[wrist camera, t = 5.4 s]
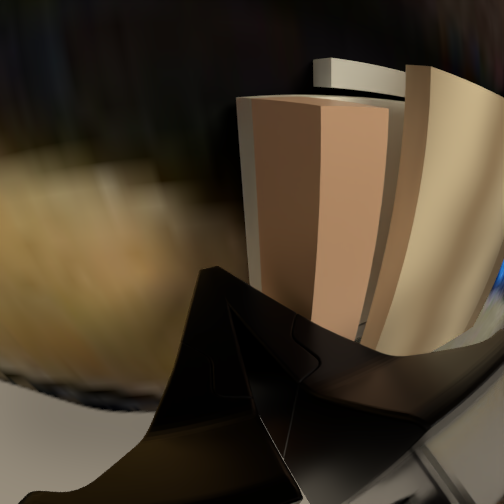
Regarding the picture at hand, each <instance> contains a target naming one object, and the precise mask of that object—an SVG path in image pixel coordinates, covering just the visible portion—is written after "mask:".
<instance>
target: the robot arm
mask: <svg viewBox="0 0 504 504" xmlns="http://www.w3.org/2000/svg"><path fill="white" fill-rule="evenodd" d="M260 417H261V419H262V421H263V423H264V425H265V426H266V428H267V430H268V432H269V434H270V436H271V437H270V436H269V434H268V432H267V430H266V428H265V426H264V425H263V423H262V421H261V419H260ZM271 438H272V439H271ZM272 440H273V441H274V443H275V445H276V447H277V448H276V447H275V445H274V443H273V441H272ZM277 449H278V450H279V452H280V454H281V455H280V454H279V452H278V450H277ZM281 456H282V457H283V458H284V461H285V462H284V461H283V459H282V457H281ZM285 463H286V464H287V466H288V468H289V469H290V471H291V473H292V475H293V476H294V478H295V480H296V481H297V483H298V485H299V486H300V488H301V490H302V491H303V493H304V495H305V496H306V498H307V500H308V501H309V503H310V504H504V329H501V330H499V331H498V332H497V333H495V334H494V335H493V336H492V337H491V338H489V339H487V340H485V341H483V342H480V343H477V344H474V345H470V346H466V347H460V348H455V349H449V350H443V351H437V352H431V353H424V354H417V355H409V356H393V355H388V354H384V353H381V352H378V351H376V350H373V349H371V348H369V347H366V346H364V345H362V344H359V343H357V342H354V341H352V340H350V339H347V338H345V337H343V336H341V335H338V334H336V333H334V332H332V331H330V330H328V329H325V328H323V327H321V326H319V325H318V324H316V323H314V322H312V321H310V320H308V319H307V318H305V317H303V316H301V315H300V314H296V312H294V311H293V310H291V309H289V308H287V307H286V306H284V305H282V304H281V303H279V302H277V301H276V300H274V299H272V298H270V297H269V296H267V295H265V294H264V293H262V292H260V291H259V290H257V289H255V288H254V287H252V286H250V285H249V284H247V283H245V282H244V281H242V280H240V279H239V278H237V277H235V276H234V275H232V274H230V273H229V272H227V271H226V270H224V269H222V268H221V267H219V266H215V267H210V268H205V269H201V270H200V271H199V275H198V278H197V282H196V286H195V289H194V293H193V297H192V300H191V304H190V308H189V312H188V316H187V319H186V323H185V327H184V331H183V335H182V339H181V343H180V346H179V351H178V354H177V358H176V361H175V365H174V368H173V371H172V374H171V376H170V379H169V381H168V384H167V387H166V389H165V391H164V394H163V396H162V399H161V401H160V403H159V406H158V408H157V411H156V413H155V415H154V418H153V421H152V423H151V425H150V427H149V429H148V431H147V433H146V435H145V436H144V438H143V439H142V440H141V441H140V443H139V444H138V445H136V447H134V448H133V449H132V450H131V451H130V452H128V453H127V454H126V455H125V456H124V457H122V458H121V459H120V460H119V461H118V462H117V463H115V464H114V465H113V466H112V467H111V468H110V469H108V470H107V471H106V472H104V473H103V474H102V475H101V476H100V477H98V478H97V479H96V480H95V481H93V482H92V483H90V484H89V485H87V486H85V487H82V488H80V489H78V490H74V491H70V492H49V491H33V492H30V493H28V494H27V495H26V496H25V497H24V498H23V499H22V500H21V501H20V502H19V503H18V504H299V503H300V502H301V501H302V499H303V496H302V494H301V491H300V489H299V487H298V485H297V483H296V482H295V480H294V478H293V476H292V475H291V473H290V471H289V469H288V468H287V466H286V464H285Z"/></svg>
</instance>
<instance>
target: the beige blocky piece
mask: <svg viewBox="0 0 504 504" xmlns="http://www.w3.org/2000/svg"><path fill="white" fill-rule="evenodd" d="M236 106H237V120H238V134H239V148H240V162H241V175H242V189H243V202H244V216H245V229H246V242H247V255H248V268H249V281H250V286H252V287H254V288H255V289H257V290H259V291H260V292H262V293H264V294H265V295H267V296H269V297H270V298H272V299H274V300H276V301H277V302H279V303H281V304H282V305H284V306H286V307H287V308H289V309H291V310H293V311H294V312H296V314H300V315H301V316H303V317H305V318H307V319H308V320H310V321H312V322H314V323H316V324H318V325H319V326H321V327H323V328H325V329H328V330H330V331H332V332H334V333H336V334H338V335H341V336H343V337H345V338H347V339H350V340H352V341H355V337H356V333H357V330H358V326H359V324H361V323H364V322H366V321H367V319H368V315H369V312H370V308H371V305H372V301H373V298H374V294H375V290H376V286H377V282H378V278H379V274H380V270H381V266H382V262H383V257H384V253H385V248H386V243H387V238H388V233H389V228H390V223H391V218H392V212H393V206H394V200H395V194H396V187H397V180H398V173H399V165H400V157H401V147H402V137H403V125H404V110H405V101H399V100H391V99H381V98H371V97H357V96H339V95H269V96H250V97H237V98H236Z"/></svg>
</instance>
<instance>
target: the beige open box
mask: <svg viewBox="0 0 504 504" xmlns="http://www.w3.org/2000/svg"><path fill="white" fill-rule="evenodd" d="M313 87H328V88H340V89H350V90H359V91H367V92H374V93H381V94H387V95H393V96H399V97H405V110H404V125H403V137H402V147H401V157H400V165H399V173H398V180H397V187H396V194H395V200H394V206H393V212H392V218H391V223H390V228H389V233H388V238H387V243H386V248H385V253H384V257H383V262H382V266H381V270H380V274H379V278H378V282H377V286H376V290H375V294H374V298H373V301H372V305H371V308H370V312H369V315H368V319H367V321H366V322H364V323H361V324H359V326H358V330H357V333H356V337H355V339H357V338H360V337H362V339H361V342H360V344H362V345H364V346H366V347H369V348H371V349H373V350H376V351H378V352H381V353H384V354H388V355H393V356H409V355H417V354H424V353H430V352H432V351H433V350H435V349H437V348H439V347H440V346H442V345H444V344H446V343H447V342H449V341H451V340H452V339H454V338H456V337H457V336H459V335H460V334H462V333H464V332H465V331H467V330H468V329H470V328H471V327H473V325H474V323H475V322H476V320H477V318H478V316H479V314H480V312H481V310H482V308H483V306H484V304H485V302H486V299H487V297H488V295H489V293H490V291H491V288H492V286H493V284H494V282H495V279H496V277H497V274H498V272H499V270H500V267H501V264H502V262H503V259H504V98H503V97H501V96H499V95H497V94H495V93H493V92H491V91H489V90H487V89H485V88H483V87H481V86H478V85H476V84H474V83H472V82H469V81H467V80H465V79H462V78H460V77H457V76H455V75H452V74H450V73H447V72H445V71H442V70H439V69H436V68H433V67H430V66H417V65H406V72H403V71H399V70H395V69H390V68H386V67H381V66H377V65H372V64H366V63H361V62H355V61H349V60H343V59H336V58H325V59H317V60H313Z"/></svg>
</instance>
